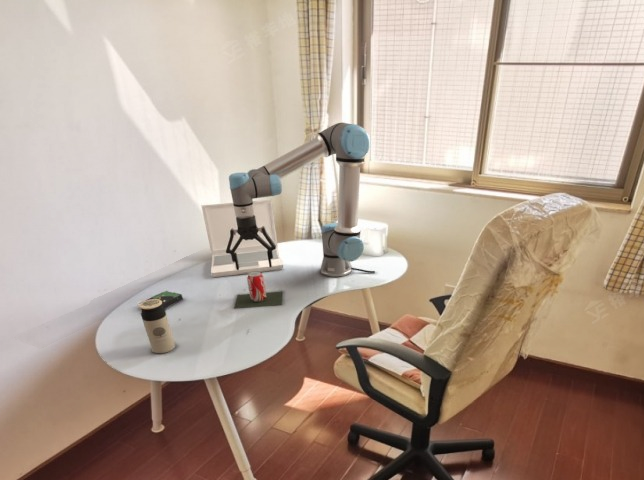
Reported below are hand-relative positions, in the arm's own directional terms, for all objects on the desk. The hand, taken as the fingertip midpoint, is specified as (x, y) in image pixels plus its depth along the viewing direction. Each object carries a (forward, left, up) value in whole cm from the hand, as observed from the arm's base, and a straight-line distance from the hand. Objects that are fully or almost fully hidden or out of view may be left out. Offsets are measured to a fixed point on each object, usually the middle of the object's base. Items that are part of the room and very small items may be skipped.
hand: (254, 267), depth 193 cm
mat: (0, 0, -15) cm, 15 cm away
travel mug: (+32, +37, -15) cm, 51 cm away
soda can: (0, 0, -15) cm, 15 cm away
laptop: (+9, -45, -15) cm, 48 cm away
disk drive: (+42, -3, -15) cm, 45 cm away
